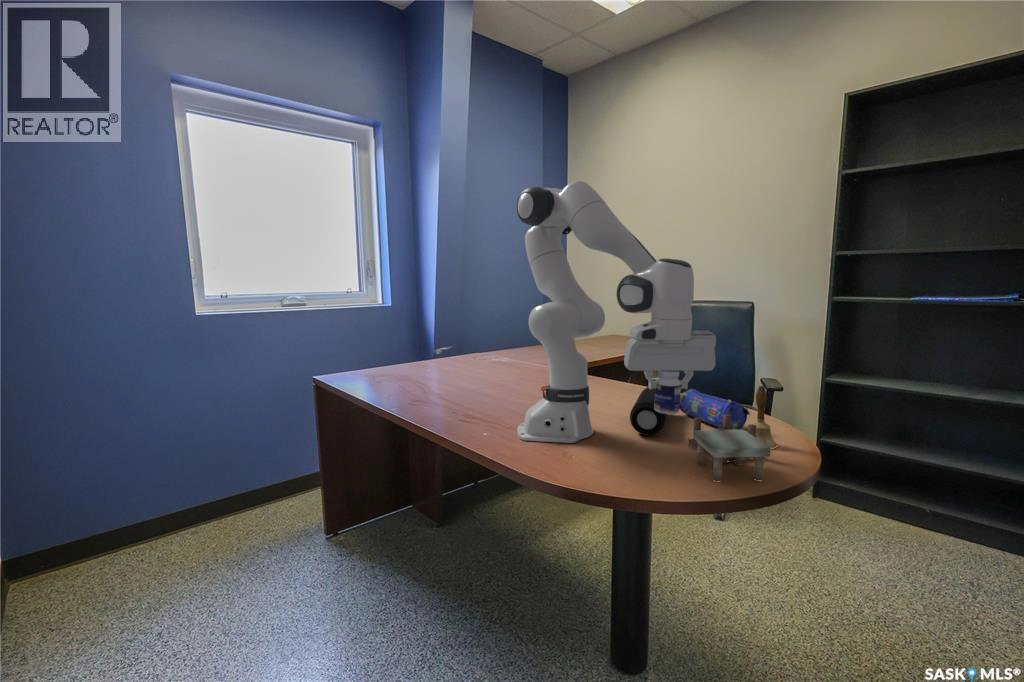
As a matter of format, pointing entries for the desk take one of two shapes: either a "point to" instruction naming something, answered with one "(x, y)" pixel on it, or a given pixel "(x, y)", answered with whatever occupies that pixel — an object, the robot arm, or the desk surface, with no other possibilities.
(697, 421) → the upturned stool
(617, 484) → the desk surface
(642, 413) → the portable speaker
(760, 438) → the hand bell
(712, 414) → the pencil case
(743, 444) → the small table
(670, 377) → the pill bottle
